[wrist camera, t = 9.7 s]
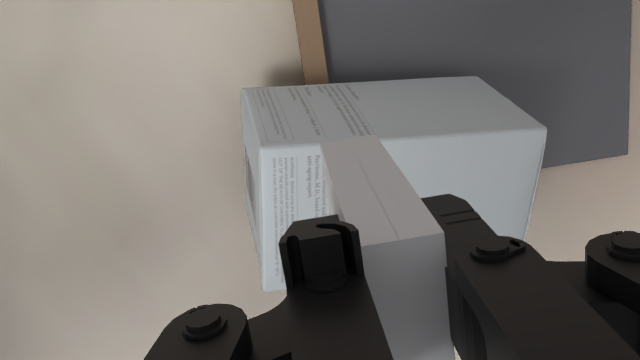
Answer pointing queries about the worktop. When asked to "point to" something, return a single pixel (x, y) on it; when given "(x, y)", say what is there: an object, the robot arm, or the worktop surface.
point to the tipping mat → (489, 57)
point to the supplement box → (400, 142)
